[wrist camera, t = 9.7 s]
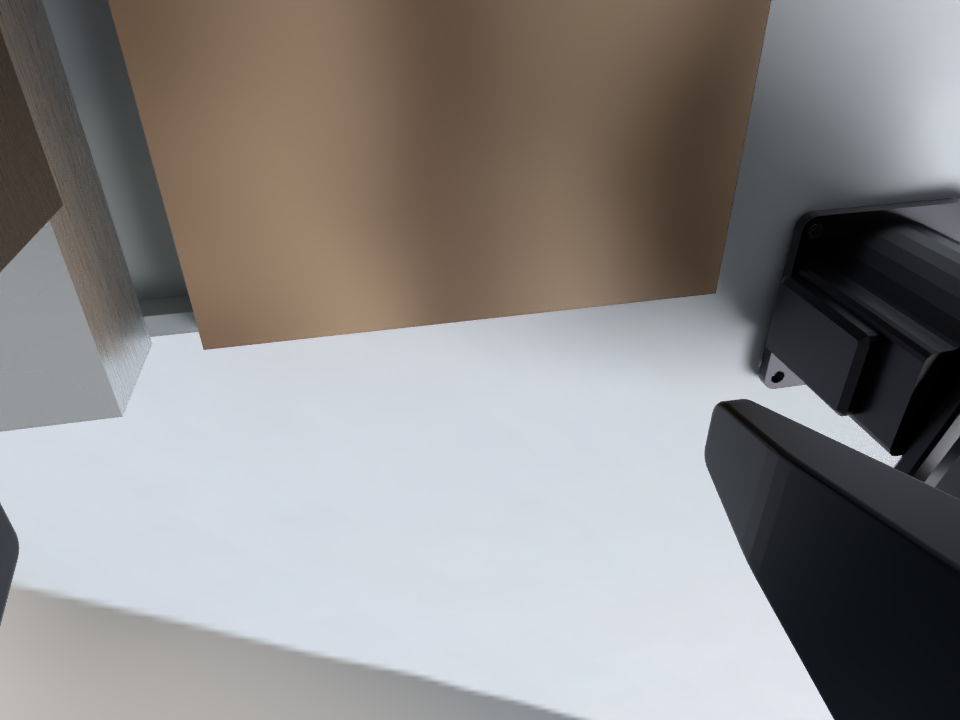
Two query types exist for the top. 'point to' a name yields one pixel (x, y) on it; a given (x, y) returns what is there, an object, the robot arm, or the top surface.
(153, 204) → the tray
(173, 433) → the top surface
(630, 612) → the top surface
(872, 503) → the robot arm
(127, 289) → the scraper
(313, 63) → the board
